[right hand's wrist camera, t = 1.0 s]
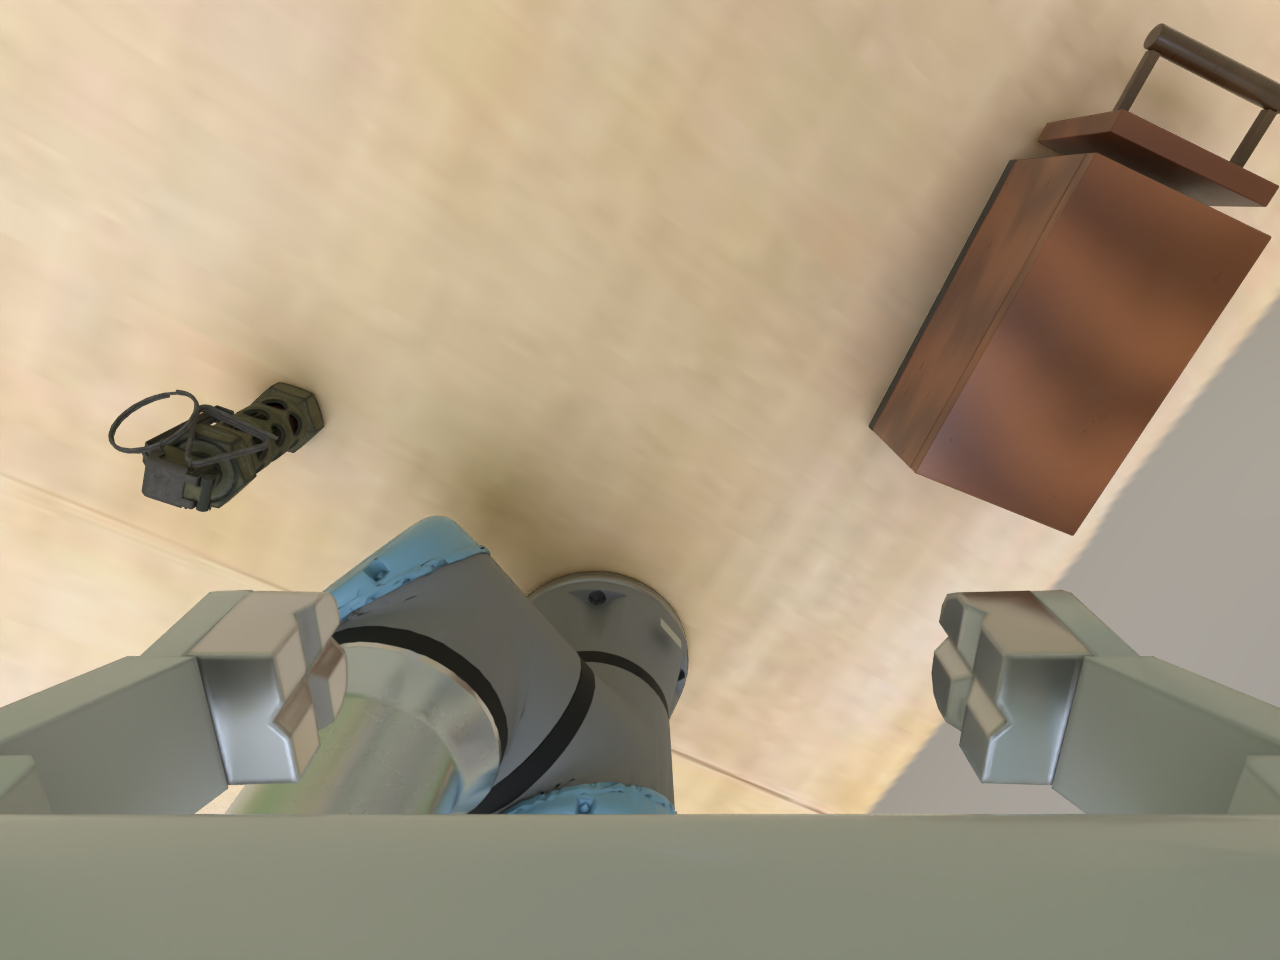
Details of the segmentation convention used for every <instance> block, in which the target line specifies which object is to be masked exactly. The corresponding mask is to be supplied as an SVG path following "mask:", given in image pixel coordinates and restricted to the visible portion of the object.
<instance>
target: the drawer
mask: <svg viewBox="0 0 1280 960" xmlns="http://www.w3.org/2000/svg"><path fill="white" fill-rule="evenodd" d="M1144 48H1145V49H1147V50H1149V51H1146V52H1145V54H1144V56H1143V58H1142V59H1141V61H1140V63H1139V65H1138V67H1137V68H1136V70H1135V72H1134V74H1133V75H1132V77H1131V79H1130V81H1129V83H1128V84H1127V86H1126V88H1125V90H1124V91H1123V93H1122V95H1121V97H1120V99H1119V100H1118V102H1117V104H1116V106H1115V107H1114V109H1113V111H1112V112H1106V113H1101V114H1095V115H1090V116H1084V117H1079V118H1073V119H1068V120H1062V121H1057V122H1051V123H1047V124H1046V126H1045V128H1044V130H1043V132H1042V134H1041V136H1040V137H1039V139H1038V142H1039V143H1041V144H1043V145H1045V146H1047V147H1049V148H1052V149H1054V150H1056V151H1058V152H1060V153H1062V154H1064V155H1075V154H1085V153H1087V154H1088V153H1099V154H1101V155H1103V156H1105V157H1107V158H1109V159H1111V160H1114V161H1116V162H1118V163H1120V164H1122V165H1124V166H1126V167H1128V168H1130V169H1132V170H1134V171H1136V172H1138V173H1141V174H1143V175H1145V176H1147V177H1149V178H1151V179H1153V180H1155V181H1157V182H1159V183H1161V184H1163V185H1165V186H1168V187H1170V188H1172V189H1174V190H1176V191H1178V192H1180V193H1182V194H1184V195H1186V196H1188V197H1190V198H1192V199H1195V200H1197V201H1199V202H1201V203H1203V204H1205V205H1207V206H1244V207H1266V206H1267V205H1268V203H1269V202H1270V200H1271V199H1272V197H1273V196H1274V194H1275V193H1276V191H1277V190H1278V188H1279V186H1278V185H1276V184H1274V183H1272V182H1270V181H1268V180H1266V179H1264V178H1262V177H1260V176H1258V175H1256V174H1254V173H1252V172H1250V171H1248V170H1246V169H1244V168H1243V167H1244V165H1245V163H1246V162H1247V160H1248V159H1249V157H1250V155H1251V154H1252V152H1253V151H1254V149H1255V148H1256V146H1257V144H1258V143H1259V141H1260V140H1261V138H1262V136H1263V135H1264V133H1265V132H1266V130H1267V129H1268V127H1269V125H1270V124H1271V122H1272V121H1273V119H1274V117H1275V116H1276V114H1279V113H1280V84H1279V83H1277V82H1276V81H1274V80H1272V79H1270V78H1268V77H1266V76H1264V75H1262V74H1260V73H1258V72H1256V71H1254V70H1252V69H1250V68H1248V67H1246V66H1244V65H1243V64H1241V63H1239V62H1237V61H1235V60H1233V59H1231V58H1229V57H1227V56H1225V55H1223V54H1221V53H1219V52H1217V51H1215V50H1213V49H1211V48H1209V47H1208V46H1206V45H1204V44H1202V43H1200V42H1198V41H1196V40H1194V39H1192V38H1190V37H1188V36H1186V35H1184V34H1182V33H1180V32H1178V31H1176V30H1175V29H1173V28H1171V27H1169V26H1167V25H1165V24H1159V25H1157V26H1156V27H1155V28H1154V29H1153V30H1152V31H1151V32H1150V33H1149V35H1148V36H1147V38H1146V40H1145V42H1144ZM1159 56H1160V57H1162V58H1164V59H1166V60H1168V61H1170V62H1172V63H1174V64H1176V65H1178V66H1180V67H1182V68H1184V69H1186V70H1188V71H1190V72H1192V73H1194V74H1196V75H1198V76H1200V77H1202V78H1204V79H1206V80H1208V81H1210V82H1212V83H1214V84H1216V85H1218V86H1219V87H1221V88H1223V89H1225V90H1227V91H1229V92H1231V93H1233V94H1235V95H1237V96H1239V97H1241V98H1243V99H1245V100H1247V101H1249V102H1251V103H1253V104H1255V105H1257V106H1259V107H1261V108H1263V109H1264V110H1261V112H1260V113H1259V115H1258V116H1257V118H1256V120H1255V121H1254V123H1253V124H1252V126H1251V128H1250V129H1249V131H1248V132H1247V134H1246V136H1245V137H1244V139H1243V140H1242V142H1241V144H1240V145H1239V147H1238V148H1237V150H1236V152H1235V153H1234V155H1233V156H1232V158H1231V160H1230V161H1227V160H1225V159H1223V158H1221V157H1219V156H1217V155H1215V154H1213V153H1211V152H1209V151H1207V150H1205V149H1203V148H1201V147H1199V146H1197V145H1195V144H1193V143H1191V142H1189V141H1187V140H1185V139H1183V138H1181V137H1179V136H1177V135H1175V134H1173V133H1171V132H1168V131H1166V130H1164V129H1162V128H1160V127H1158V126H1156V125H1154V124H1152V123H1150V122H1148V121H1146V120H1144V119H1142V118H1140V117H1138V116H1136V115H1134V114H1132V113H1130V112H1128V111H1129V109H1130V107H1131V105H1132V103H1133V102H1134V100H1135V98H1136V96H1137V95H1138V93H1139V91H1140V89H1141V88H1142V86H1143V84H1144V82H1145V81H1146V79H1147V77H1148V75H1149V74H1150V72H1151V70H1152V68H1153V67H1154V65H1155V63H1156V61H1157V60H1158V58H1159Z"/></svg>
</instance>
